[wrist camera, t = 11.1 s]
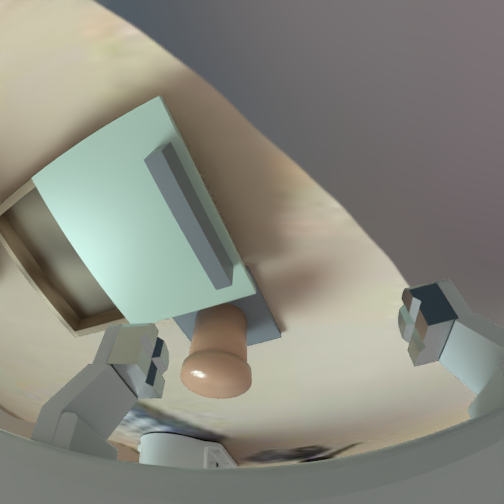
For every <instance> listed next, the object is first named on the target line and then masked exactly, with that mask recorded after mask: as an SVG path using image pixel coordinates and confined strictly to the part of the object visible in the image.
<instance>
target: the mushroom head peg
mask: <svg viewBox="0 0 504 504" xmlns="http://www.w3.org/2000/svg"><path fill="white" fill-rule="evenodd" d="M181 381H182V383H183V384H184V385H185V387H187V388H188V389H189V390H190V391H192V392H194V393H196V394H198V395H201V396H204V397H209V398H217V399H225V398H232V397H236V396H239V395H241V394H243V393H245V392H246V391H247V390H248V389H249V388H250V386H251V382H252V372H251V367H250V366H249V364H248V363H247V317H246V315H245V314H244V312H243V311H242V310H241V309H239V308H238V307H236V306H234V305H231V304H228V303H222V304H219V305H215V306H212V307H208V308H204V309H201V310H199V311H198V313H197V315H196V319H195V324H194V330H193V335H192V341H191V346H190V352H189V356H188V357H187V358H186V359H185V360H184V362H183V364H182V370H181Z"/></svg>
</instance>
